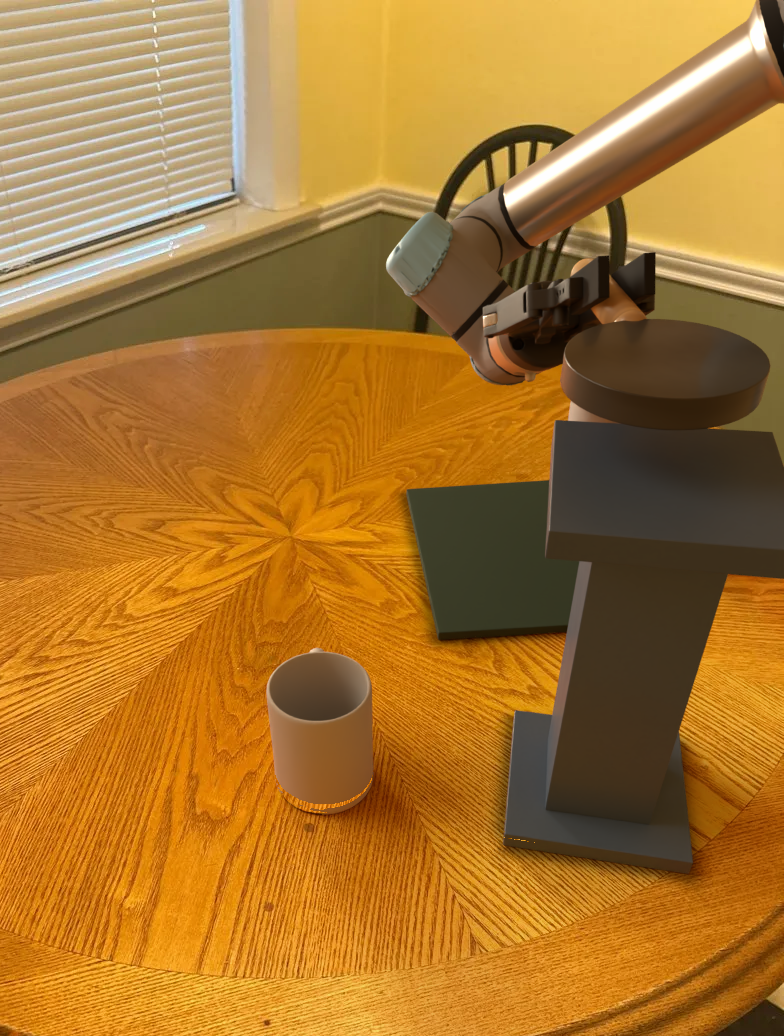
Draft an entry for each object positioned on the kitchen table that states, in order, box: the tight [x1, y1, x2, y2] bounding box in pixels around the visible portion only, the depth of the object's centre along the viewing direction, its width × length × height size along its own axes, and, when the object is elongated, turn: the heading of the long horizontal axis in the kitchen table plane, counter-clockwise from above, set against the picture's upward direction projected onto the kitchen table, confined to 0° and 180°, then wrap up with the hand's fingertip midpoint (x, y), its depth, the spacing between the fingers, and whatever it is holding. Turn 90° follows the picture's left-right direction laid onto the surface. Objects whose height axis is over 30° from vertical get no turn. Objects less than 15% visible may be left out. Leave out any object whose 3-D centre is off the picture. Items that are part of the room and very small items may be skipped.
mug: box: [266, 647, 375, 815], centre depth 75 cm, size 12×8×11 cm
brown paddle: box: [559, 257, 771, 430], centre depth 60 cm, size 24×12×2 cm, turn 2°
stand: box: [502, 419, 784, 875], centre depth 65 cm, size 14×14×30 cm
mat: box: [405, 479, 579, 641], centre depth 101 cm, size 28×18×1 cm, turn 2°
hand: (626, 275), depth 60 cm, fingers closed on brown paddle, 2 cm apart
